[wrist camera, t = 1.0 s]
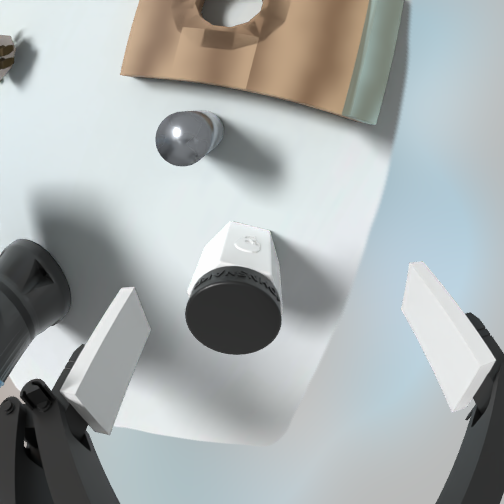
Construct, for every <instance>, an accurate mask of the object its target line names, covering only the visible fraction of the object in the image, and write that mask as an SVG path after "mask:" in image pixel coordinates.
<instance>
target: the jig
mask: <svg viewBox="0 0 504 504" xmlns="http://www.w3.org/2000/svg"><path fill="white" fill-rule="evenodd" d="M204 2H205V0H140V1H139V4H138V7H137V10H136V14H135V17H134V20H133V24H132V27H131V31H130V35H129V39H128V42H127V46H126V51H125V55H124V59H123V64H122V68H121V73H120V75H123V76H130V77H142V78H156V79H168V80H177V81H186V82H194V83H201V84H208V85H214V86H221V87H226V88H232V89H237V90H243V91H248V92H252V93H257V94H262V95H266V96H270V97H275V98H279V99H283V100H287V101H291V102H294V103H298V104H302V105H305V106H309V107H312V108H316V109H319V110H322V111H326V112H329V113H332V114H335V115H338V116H341V117H344V118H347V119H350V120H353V121H356V122H361V123H367V124H372V125H376V123H377V119H378V116H379V112H380V108H381V104H382V101H383V97H384V93H385V89H386V85H387V81H388V77H389V73H390V68H391V64H392V60H393V55H394V51H395V46H396V41H397V36H398V31H399V26H400V21H401V15H402V9H403V3H404V0H262V2H263V4H262V8H261V11H260V12H259V13H258V14H257V15H256V16H255V17H253V18H252V19H251V20H250V21H249V22H247V23H244V24H240V25H237V26H233V27H224V26H216V25H212V24H210V23H209V22H207V21H206V20H204V18H203V15H202V13H201V11H202V8H203V5H204Z"/></svg>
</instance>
